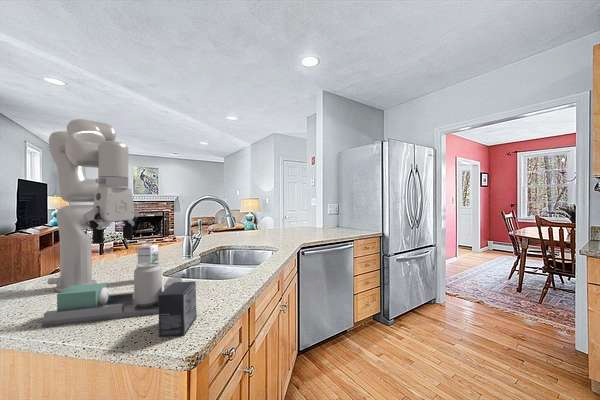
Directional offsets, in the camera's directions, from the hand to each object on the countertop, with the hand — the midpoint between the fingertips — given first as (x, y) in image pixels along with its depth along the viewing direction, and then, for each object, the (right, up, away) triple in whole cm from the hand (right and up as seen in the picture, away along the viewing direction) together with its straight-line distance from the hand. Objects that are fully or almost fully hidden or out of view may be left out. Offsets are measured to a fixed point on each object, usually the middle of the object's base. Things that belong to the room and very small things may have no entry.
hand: (113, 240), depth 83 cm
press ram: (-7, -19, -2) cm, 21 cm away
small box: (+24, -21, -11) cm, 34 cm away
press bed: (+2, -21, 0) cm, 21 cm away
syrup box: (-8, -21, +33) cm, 40 cm away
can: (+9, -20, +3) cm, 22 cm away
